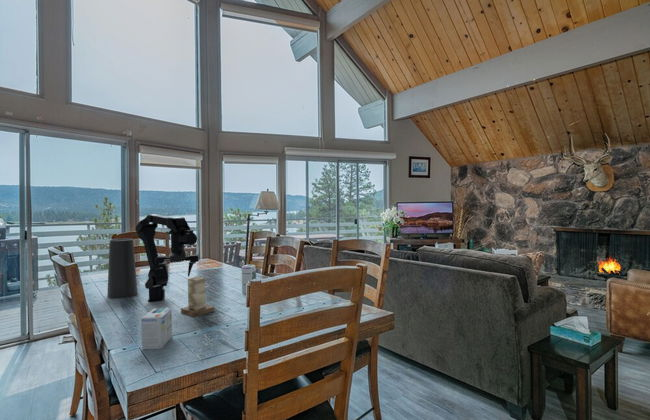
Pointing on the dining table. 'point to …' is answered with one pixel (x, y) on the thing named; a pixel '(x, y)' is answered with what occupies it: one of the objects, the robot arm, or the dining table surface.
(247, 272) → the syrup box
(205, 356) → the dining table surface
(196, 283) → the maple block
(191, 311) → the walnut block
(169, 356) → the dining table surface
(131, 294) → the vase
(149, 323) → the light bulb box
